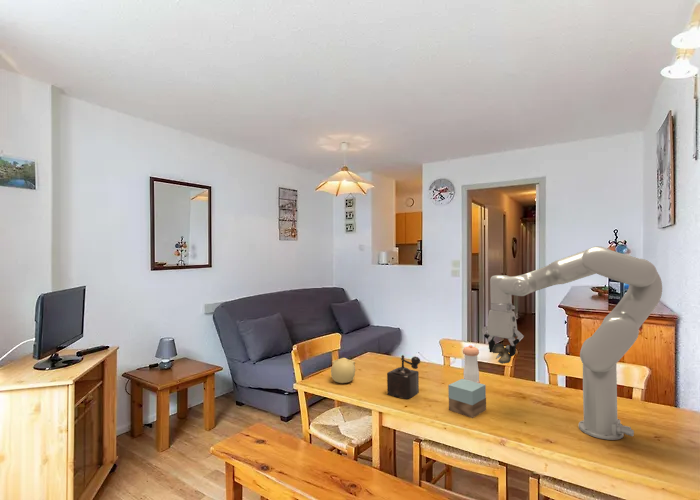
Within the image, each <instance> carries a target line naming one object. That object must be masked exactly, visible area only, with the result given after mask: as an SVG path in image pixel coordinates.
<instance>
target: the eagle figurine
mask: <svg viewBox="0 0 700 500" xmlns="http://www.w3.org/2000/svg"><path fill="white" fill-rule="evenodd" d="M509 346H510V345H509V344H507V345H505V346H504V344H502V343H495V345H494V347H493V350H492V352H491V353H492V354H497V355H496V357H495V360H497V359H498V360H497V362H498V363H500V364H502V365H504V364H509V363H510V362H511V360H512V356H510V353H509Z"/></svg>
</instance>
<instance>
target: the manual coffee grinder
mask: <svg viewBox="0 0 700 500" xmlns="http://www.w3.org/2000/svg"><path fill="white" fill-rule="evenodd" d="M400 357H401V358H400V361H401V366H400V367H396V368H394V369H393V370H390V371H388V372H387V373H386V381H387V382H386V384H387V386H386V387H387V389H386V390H387V392H386V393H387V396H391V397H395V398H398V399H399V398H400V399H404V400H409V399H411V398H414V397H415V396H417V395H418V394H419V392H420V389H419V385H420V384H419V374H420V373H419V370H417V369H418V366H419V365H420V364H421V359H420V357H418V356H412V357H411V359H410V360H411V361H408V360H407V359H405V356H404V354H402V355H401V356H400ZM405 363H406V364H409V365H410V366H411V368H412V369H410V368H408V367H406V366H405Z"/></svg>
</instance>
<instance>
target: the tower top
mask: <svg viewBox="0 0 700 500" xmlns="http://www.w3.org/2000/svg"><path fill="white" fill-rule="evenodd" d="M486 386H487V385H486V384H484V383H481V382H480V383H476V382H473V381H469V380H465V379H464V378H460V379H458V380H456V381H454V382H451V383H450V384H448V386H447V387H448V388H447V389H448V399H449V398H450V399H453V400H457V401H460V402H463V403H467V404H470V405H474V404H476V403H477V402H479V401H481V400H483V399H485V398H486V399H487V395H486V393H487V391H486V390H487V389H486Z"/></svg>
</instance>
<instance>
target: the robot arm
mask: <svg viewBox="0 0 700 500" xmlns="http://www.w3.org/2000/svg"><path fill="white" fill-rule="evenodd" d="M593 275H599V276H602V277H604V278H608V279H611V280H614V281H615V282H619V283H623V284H626V285H628V288H627V291H626V292H625V293H624V295H623V296H622V297H621V299H620V300H619V302H618V303H617V305H616V306H615V307H613V309H612V310H611V311H610V312H609V313H608V314H607V315H605V317H604V318H603V321H602V322H601V325H599V327H598V328H597V329H596V330H595V332H594V333H593V334H592V335H591V336H590V337H588V338H586V339H585V340H584V342H583V343H582V345H581V348H580V352H579V359H580V361H581V363H582V399H583V402H582V403H583V405H582V406H583V411H582V412H583V420H580V421H579V422H578V429H579V430H580V431H581V432H583V434H586V435H589V436H590V437H594V438H597V439H601V440H608V441H614V440H615V441H616V440H620V439H623V437H624V436H625V435H627V436H630V437H634V435H635V431H634V429H632V427H631V426H629V425H623V424H622V423H621V419H618V389H617V388H618V383H617V382H618V381H617V379H618V377H617V374H618V372H617V364H618V362H619V361H620V360H621V359H622V358H623V357H624V356H625V355H626V353H627V352H628V351H629V350H630V348H632V347H633V345H634V344H635V343H636V341H637V339H638V337H639V334H640V328H641V326H642V325H643V324H644V323H645V321H646V320H647V319H648V317H650V315H651V314H652V313H653V311H654V310H655V309H656V308H657V306H658V304H659V303H660V300H661V299H662V295H663V282H662V279H661V276H660V274H659V272H658V271H657V268H656V266H655V265H654V264H653V263H652V262H651V261H649V260H647V259H645V258H638V257H636V256H630V255H628V254H625V253H622V252H619V251H616V250H615V251H614V250H611V249H609V248H607V247H604V246H593V247H590V248H587V249H585V250H581V251H579V252H577V253H574V254H571V255H568V256H566V257H563V258H559V259H556V260H555V261H552V262H551V263H549V264H548V265H546V266H544V267H541V268H537V269H535V270H532V271H529V272H527V273H524V274H519V275H513V276H509V275H506V274H505V275H504V274H503V275H502V274H496V275H492V276H491V277H490V281H489V283H490V286H489V287H490V291H489V292H490V310H489V312H488V316H487V325H486V326H485V327H483V328H482V329H481V330H480V331H481V332H482V334H483V336H484V337H485V339H486V340H487V342H488V349H489V353H493V352H492V350H493V347H494V345H496V341H495V339H496V338H502V339H507V340H508V342H509V343H510V345H509V354H510V356H511V357H514V356H515V355H516V353H517V344H519V343H520V342H521V340H523V338H524V337H525V335H523V334H522V332H520V331H519V330H518V324H517V317H516V314H515V311H513V310H515V309H516V306H515V305H513V303H512V299H513V297H512V296H516V297H517V296H518V297H525V296H527V295H529V294H532V293H534V292H537V291H540V290H543V289H546V288H549V287H552V286H559V285H564V284H568V283H569V284H570V283H571V282H575V281H577V280H581V279H583V278H584V279H585V278H586V277H591V276H593Z"/></svg>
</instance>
